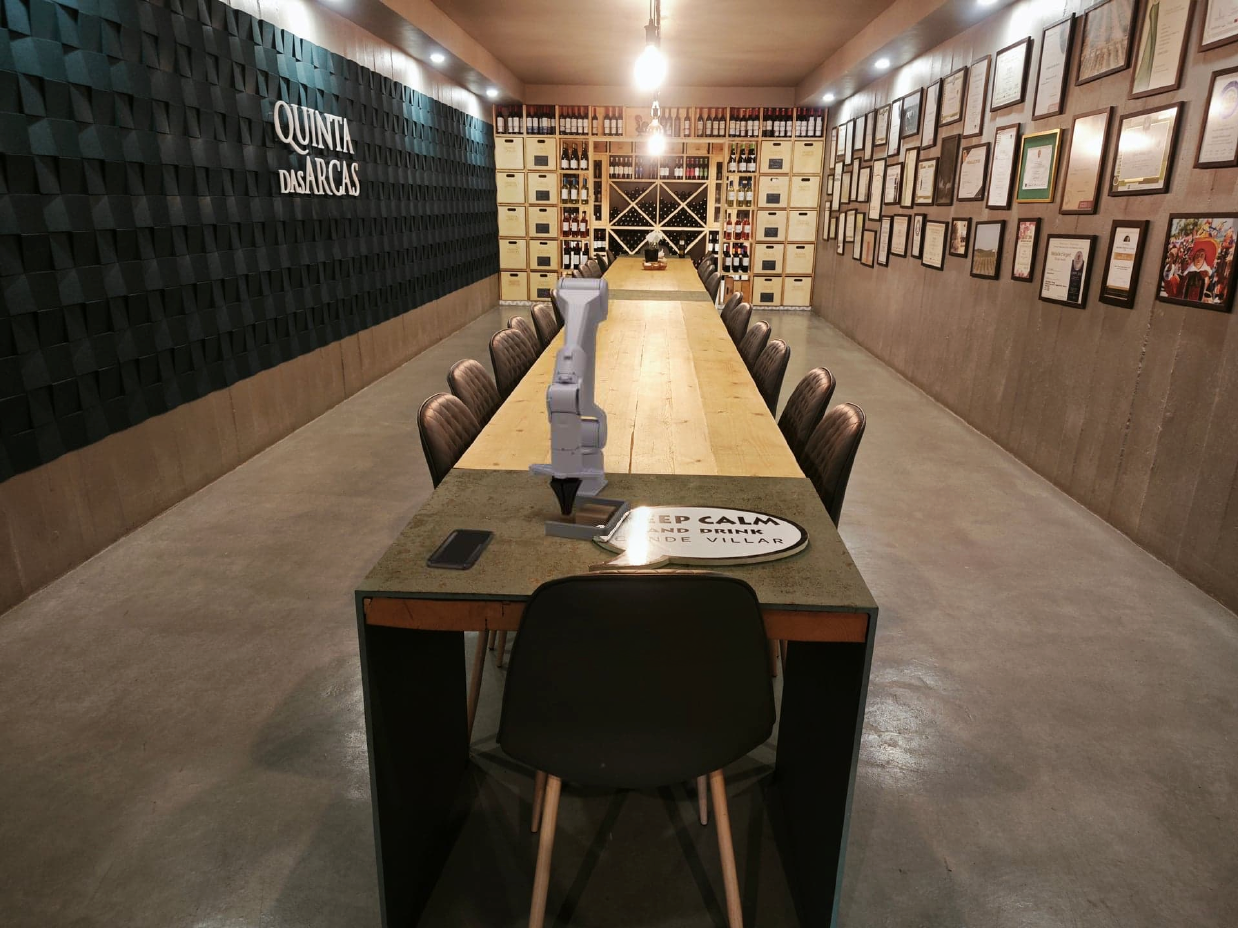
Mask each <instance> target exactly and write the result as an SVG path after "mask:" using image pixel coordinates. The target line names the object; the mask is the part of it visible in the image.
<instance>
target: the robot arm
mask: <svg viewBox="0 0 1238 928" xmlns="http://www.w3.org/2000/svg"><path fill="white" fill-rule="evenodd" d="M555 289H556V290H555V296H556V297H555V298H556V304H557V307H558V308H559V311H560V314H561V315H562V318H563V319H564V333H563V334H564V335H563V346H561V348H559V349H558V350H557V351H556V354H555V362H554V369H553V376H552V383H551V384H548V386H547V388H546V394H545V401H546V402H545V404H546V412H547V416H548V417H547V418H548V419H547V421H548V423H549V424H550V460H551V461H550V463H534V462H533V463H531V464H530V465H528V476H529V477H535V476H542V477H549V478H551V480H550V481H549V486H550V488H551V489H552V492H553V493H554V494H555V497H556V499H557V501H558V505H559V508H560V511H561V515H562V516H565V517H569V516H570V515H572V513H573V508H574V507H573V504H574V500H575V497H576V494H578V495H587V496H595V497H597V495H598V494H599V492H600V491H602V489H604V487H605V486H606V485H607V484H609V483H608V482H609V481H608V479H607V480H606V479H605V478H606V477H605V474H606V471H605V466H604V465H605V455H604V452H603V449H604V448H605V447H606V446H607V440H608V421H607V419H608V417H607V414H606V411H605V410H604V409H602V408H601V407H600V406H599V405H597V404H596V403H595V389H596V388H595V385H596V383H595V381H596V356H597V355H596V354H597V333H598V328H599V324H601V323H603V322H605V321H606V320H607V318H608V317H607V316H608V314H609V299H610V297H609V296H610V293H609V292H610V290H609V282H608V280H607V279H606V278H605V277H602V278H588V277H587V278H585V277H584V278H583V277H582V278H581V277H577V278H576V277H564V276H561V277H559V279H558V280H557V282H556V287H555ZM582 417H583V418H582ZM585 417H586V418H585Z"/></svg>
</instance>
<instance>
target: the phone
mask: <svg viewBox="0 0 1238 928" xmlns="http://www.w3.org/2000/svg"><path fill="white" fill-rule="evenodd" d="M494 538H495V532H494V531H491V530H481V529H480V530H478V529H465V528H458V529H456V528H455V529H454V530H453V531H451V532H450V534H449V535H448V536H446V538H445V539H444V540H443V542H442V543H440V545H439V546H438V547H437V548H436V550H434V552H432V554H431V555H430V556H429V557H428V559H426V561H425V563H426V564H425V565H426V567H427V568H429V569H430V568H431V569H440V570H441V569H444V570H457V571H467V570H470V569H471V568H473V566H474V565H475V564H476V562H477V561H478V560H479V558H480V557H481V556H482V555H483V553H484V551H485V550H486V549H487V548H488V546H489V545H490V543H491V542H492V541H493V540H494Z"/></svg>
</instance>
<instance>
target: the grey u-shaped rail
mask: <svg viewBox="0 0 1238 928" xmlns="http://www.w3.org/2000/svg"><path fill="white" fill-rule="evenodd" d="M585 504H594V505H602V506H610V507H616V508H615V515H614V516H613V518H612V519H611V520H610V521H609V523H608V524H607V525H606V526H605V527H604V528H600V527H592V526H584V525H576V523H568V522H560V521H551V520H546V521H545V535H546V536H551V537H559V538H566V539H573V540H580V541H590V542H593V541H592V539H593V538H594V536H597V535H599V536H608V535H609V534H610V532H611V531H612V530H613V529H614V528H615V527H616V525H617V523H618V522H619V521H620V520H621V518H622V517H623V515H624V514H625V513H626V512H628V511H630V510H632V509H631V504H632V503H631V499H630V500H629V499H620V498H612V497H604V496H587V495H578V494H576V497H575V500H574V504H573V508H577V509H581V508H582V507H583V506H584V505H585Z"/></svg>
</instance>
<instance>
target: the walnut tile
mask: <svg viewBox="0 0 1238 928" xmlns="http://www.w3.org/2000/svg"><path fill="white" fill-rule="evenodd" d="M615 508H616V507H610V506H602V505H594V504H585V505H584V506H583V507H582V508H579V510H578V511H577V512H576V513H575V524H576V525H584V526H592V527H596V526H598V525H604V526H606V525H607V524H608V523H609V521H610V520H611V519H612V518H613V516H614V515H615V514H616V512H615Z"/></svg>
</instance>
